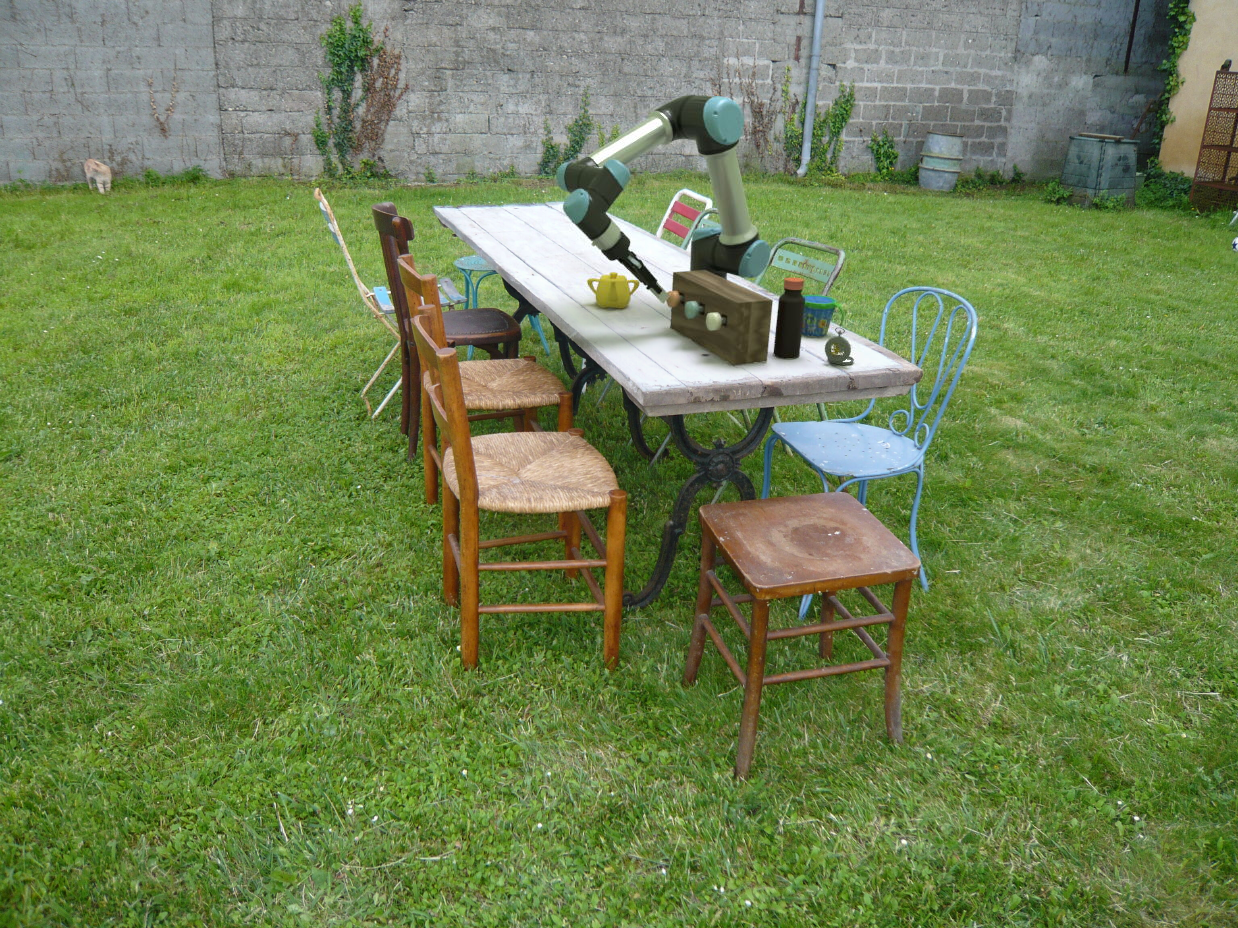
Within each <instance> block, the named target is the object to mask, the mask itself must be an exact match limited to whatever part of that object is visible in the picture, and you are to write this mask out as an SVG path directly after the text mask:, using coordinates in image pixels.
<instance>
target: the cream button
mask: <svg viewBox="0 0 1238 928" xmlns="http://www.w3.org/2000/svg"><path fill="white" fill-rule="evenodd" d="M721 324H727V317H723V318H721V316H720V314H719V313H717V312H715V313H708V314H707V317H706V325H707V328H708V329H709V330H710V331H712V330H719V329H720V327H721Z"/></svg>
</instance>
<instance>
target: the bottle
mask: <svg viewBox="0 0 1238 928" xmlns="http://www.w3.org/2000/svg"><path fill="white" fill-rule="evenodd" d="M804 285H805V280H804V279H803V278H800V277H794V276H793V277H785V278H784V280H783V290H784V293H782V294H781V295H780V296H779V297H778V303H777V304H778V305H777V315H776V324H775V334H774V345H773V355H774V356H775V357H777V358H780V359H786V358H793V359H796V358H799V357H800V352H801V343H802V335H803V334H802V327H803V318H804V309H805V298H804V297H803V294H802V291H804V290H803V289H804Z"/></svg>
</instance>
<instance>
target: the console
mask: <svg viewBox="0 0 1238 928" xmlns="http://www.w3.org/2000/svg"><path fill="white" fill-rule="evenodd" d="M671 286H672V288H671V291H677V292H678V293H679V296H681V295H684V301H680V303H679V306H678V307H670V308H671V309H670V326H669V329H671V330H673V331H674V332H676V333H678V334H679V335H681V336H683V338H684V337H685V338H686V339H688V340H689V339H690V341H691V342H693V343H695V344H697V345H698V346H699V347H701V348H702V349H704V350H706V351H708V352H710V353H711V354H713V355H715V356H716V357H717V358H720V359H721V360H722V361H725V362H726V363H728V364H730V365H732V366H738V365H739V366H741V365H747V364H755V363H754V362H758V363H764V362H763V361H767V362H768V354H769V352H768V351H769V343H770V331H771V325H772V324H771V323H772V313H773V302H774V300H773V299H772V298H769V297H767V296H765V295H763V294H760V293H758V292H755V291H754V290H751V289H748V288H747V287H744V286H742V285H741V284H737V283H735V282H733V281H730V280H728V279H727V280H726V279H724V278H722V277H720V276H717V275H715V274H713V273H711V272H708V271H706V270H697V271H690V270H686V271H684V270H683V271H673V272H672V285H671ZM690 301H696V302H697V303H698V306H705V312H699V315H698V317H697V318H690V319H688V318H687V317H686V315H685V304H686V302H690ZM715 312H717V313H719V314H720V316H721V318H723V317H727V324H721V327H720V329H719V330H712V331H710V330H709V329H708V328H707V325H706V317H707V314H708V313H715Z"/></svg>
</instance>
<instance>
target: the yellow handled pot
mask: <svg viewBox="0 0 1238 928" xmlns="http://www.w3.org/2000/svg"><path fill="white" fill-rule="evenodd" d="M586 282H587V285H588V287H589V289H590V290H591V291H592V293H593V294H594V295H595V301H596V303H597V306H599V307H601V309H609V308H615V309H616V308H617V309H619V310H623V309H624V308H626V307H627V306H629V303H630V302H631V297H632V295H633V294H634V293H635V292H636V291H637V289H638V288H639V286H640V281H639V280H638V279H627V277H626V276H625V275H623V274H622V275H621V274H619V273H618V272H615V271H614V272H613V271H611V272H609V274H602V275H601V277H600V278H591V277H590V278H587V281H586ZM594 282H597V286H596V289H595V287H594V285H593V284H594ZM631 283H633V287H632V289H630V284H631Z"/></svg>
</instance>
